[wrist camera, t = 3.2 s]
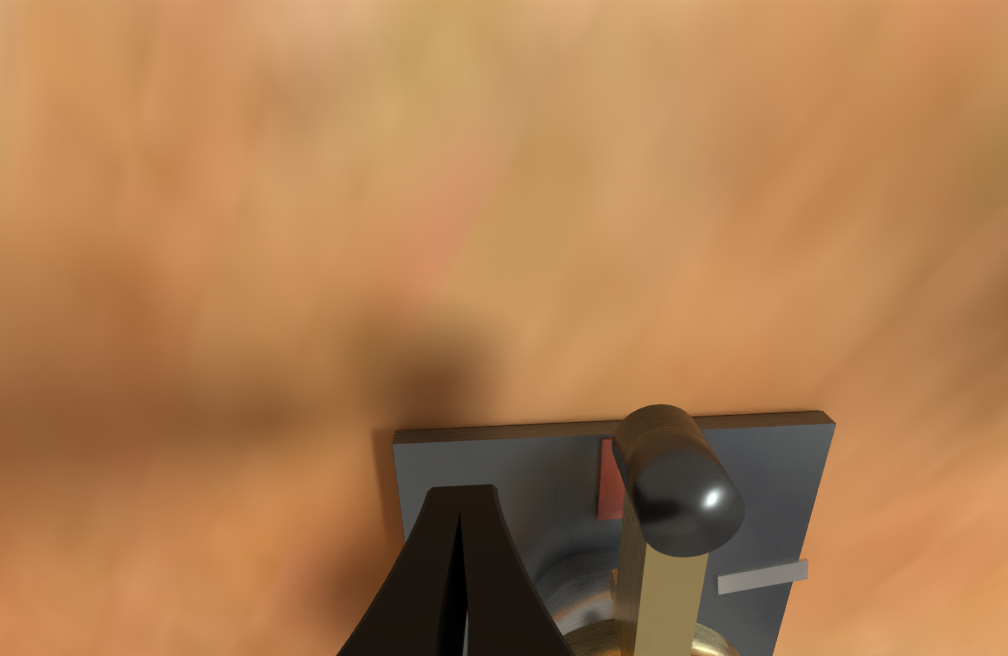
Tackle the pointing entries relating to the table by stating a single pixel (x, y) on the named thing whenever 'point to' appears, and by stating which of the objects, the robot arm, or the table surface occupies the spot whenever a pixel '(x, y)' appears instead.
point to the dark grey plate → (599, 509)
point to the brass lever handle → (664, 539)
